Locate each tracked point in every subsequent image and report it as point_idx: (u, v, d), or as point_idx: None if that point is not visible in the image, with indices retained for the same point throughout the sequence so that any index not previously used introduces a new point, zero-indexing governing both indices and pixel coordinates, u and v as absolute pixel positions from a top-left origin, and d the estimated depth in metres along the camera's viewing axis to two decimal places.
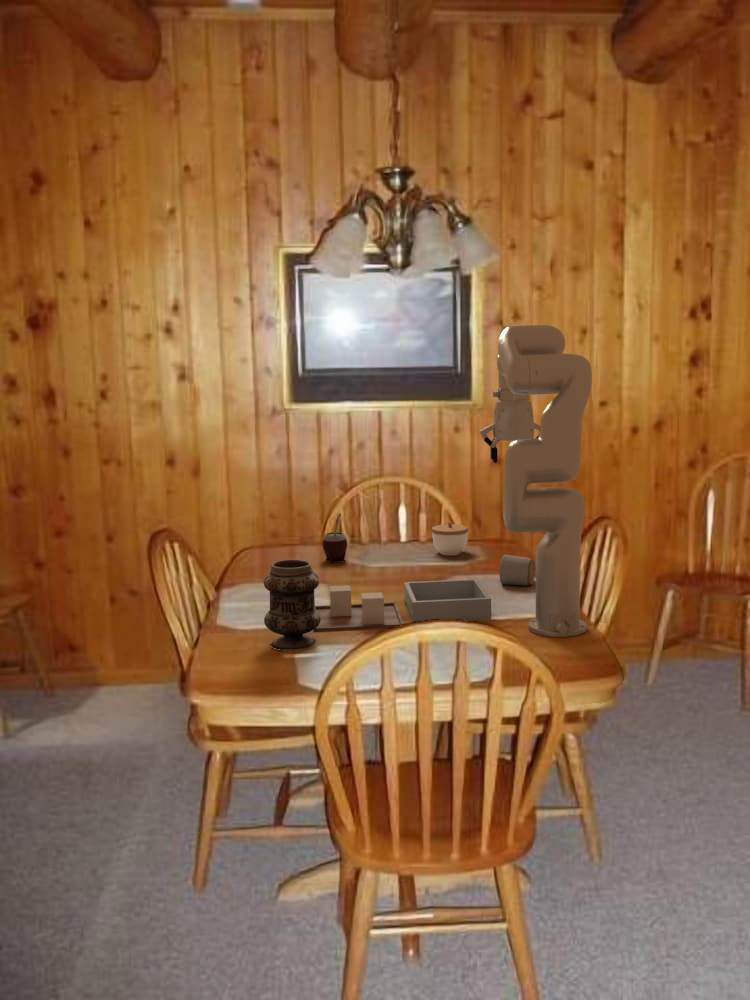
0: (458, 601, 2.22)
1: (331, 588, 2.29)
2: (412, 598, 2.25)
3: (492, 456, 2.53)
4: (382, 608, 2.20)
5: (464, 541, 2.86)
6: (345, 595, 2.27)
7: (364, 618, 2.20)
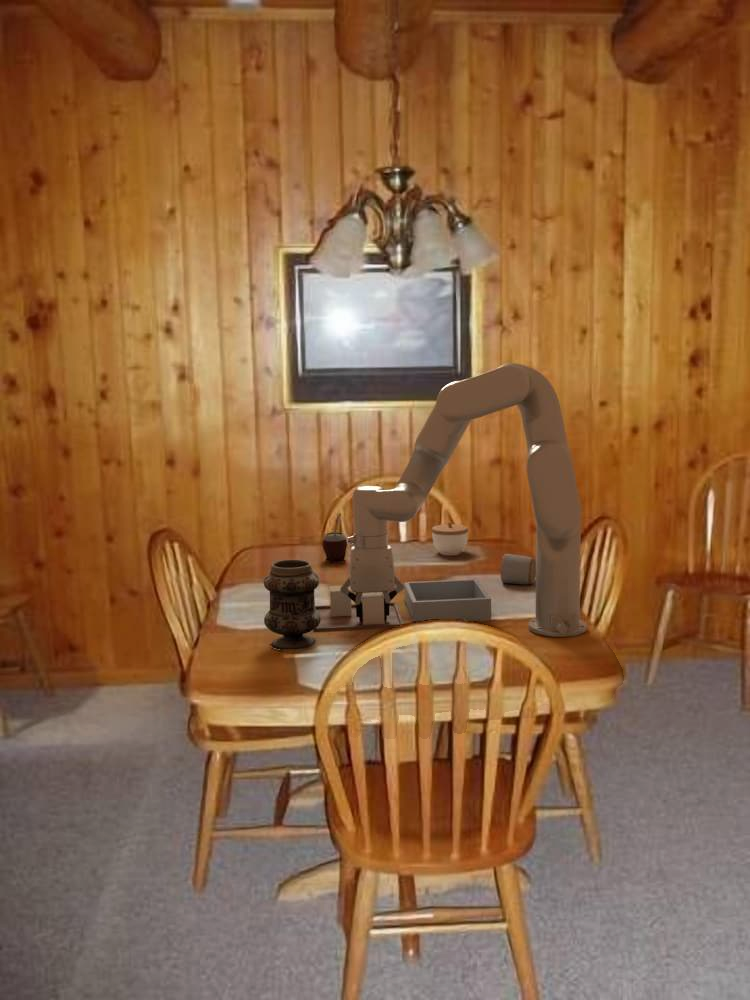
0: (458, 601, 2.22)
1: (331, 588, 2.29)
2: (412, 598, 2.25)
3: (357, 613, 2.22)
4: (382, 608, 2.20)
5: (464, 541, 2.86)
6: (345, 595, 2.27)
7: (364, 618, 2.20)
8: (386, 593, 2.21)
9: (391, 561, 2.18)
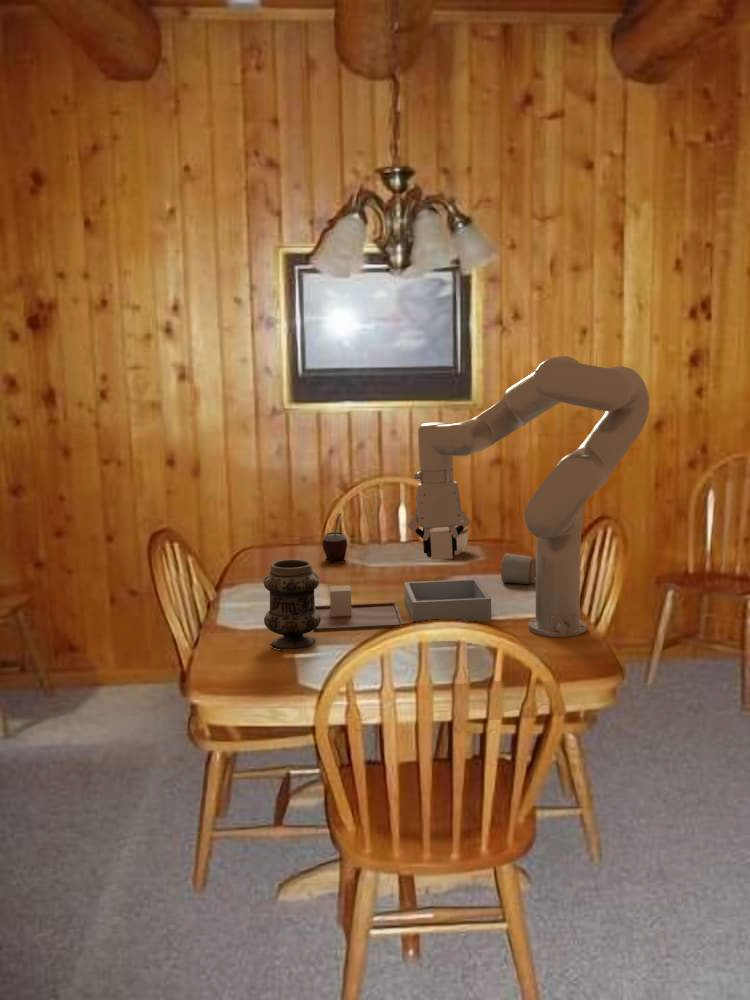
0: (458, 601, 2.22)
1: (331, 588, 2.29)
2: (412, 598, 2.25)
3: (425, 549, 2.24)
4: (450, 542, 2.22)
5: (464, 541, 2.86)
6: (345, 595, 2.27)
7: (433, 553, 2.22)
8: (453, 528, 2.23)
9: (458, 495, 2.21)
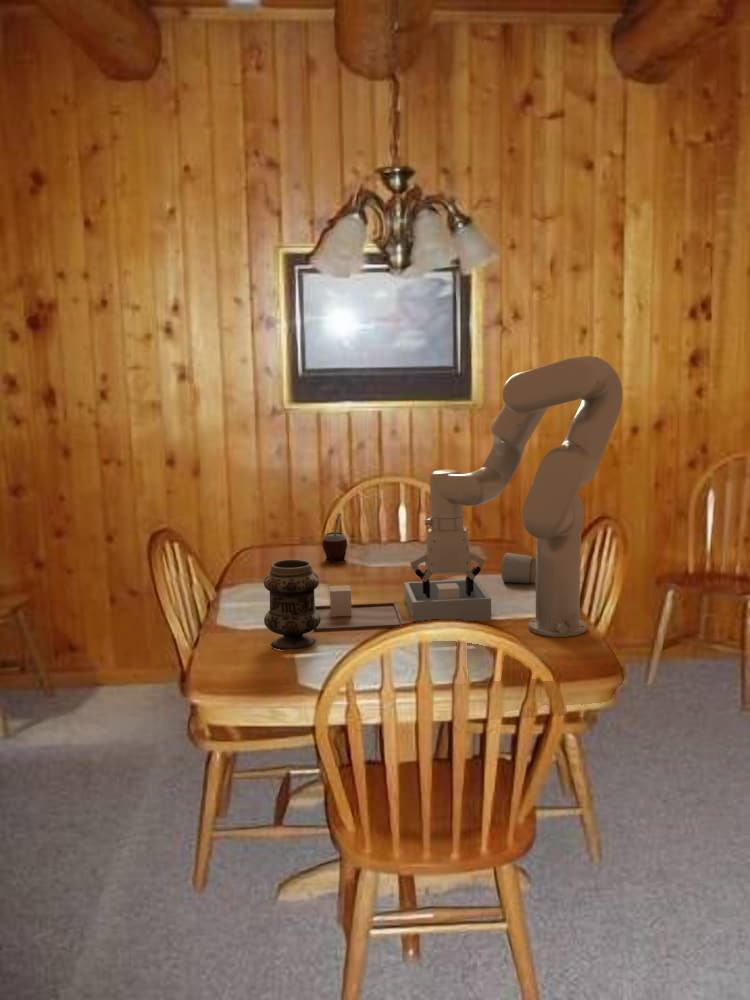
0: (458, 601, 2.22)
1: (331, 588, 2.29)
2: (412, 598, 2.25)
3: (424, 590, 2.27)
4: (457, 598, 2.26)
5: None
6: (345, 595, 2.27)
7: None
8: (468, 571, 2.26)
9: (467, 543, 2.24)
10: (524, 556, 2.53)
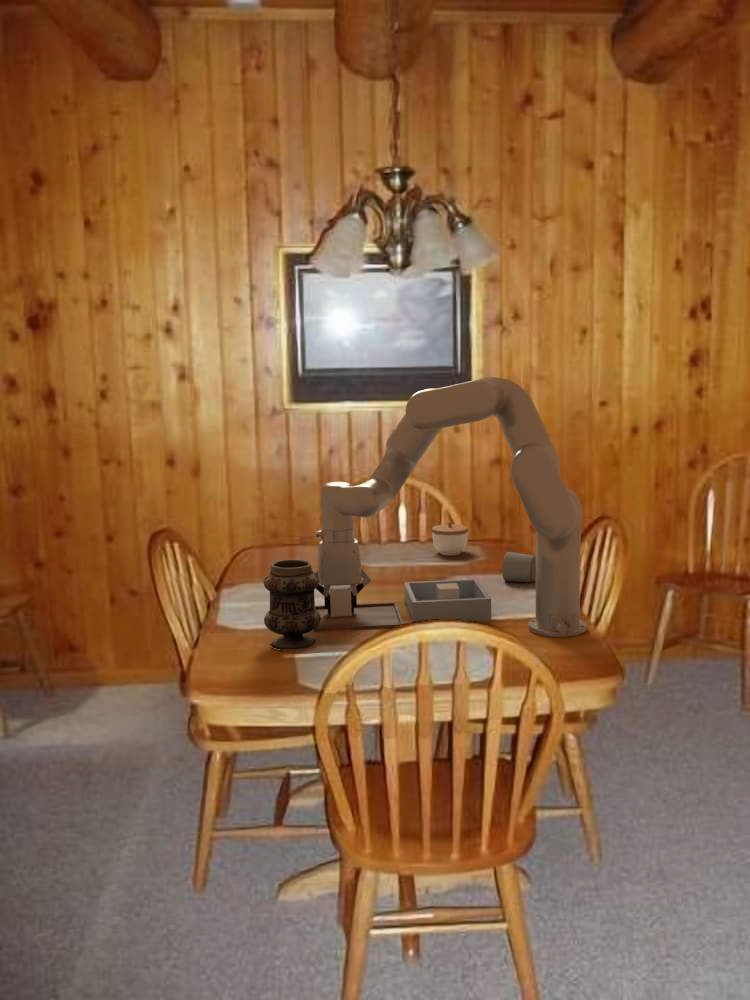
0: (458, 601, 2.22)
1: (331, 588, 2.29)
2: (412, 598, 2.25)
3: (325, 606, 2.28)
4: (457, 598, 2.26)
5: (464, 541, 2.86)
6: (345, 595, 2.27)
7: None
8: (353, 586, 2.28)
9: (358, 555, 2.25)
10: (525, 555, 2.54)
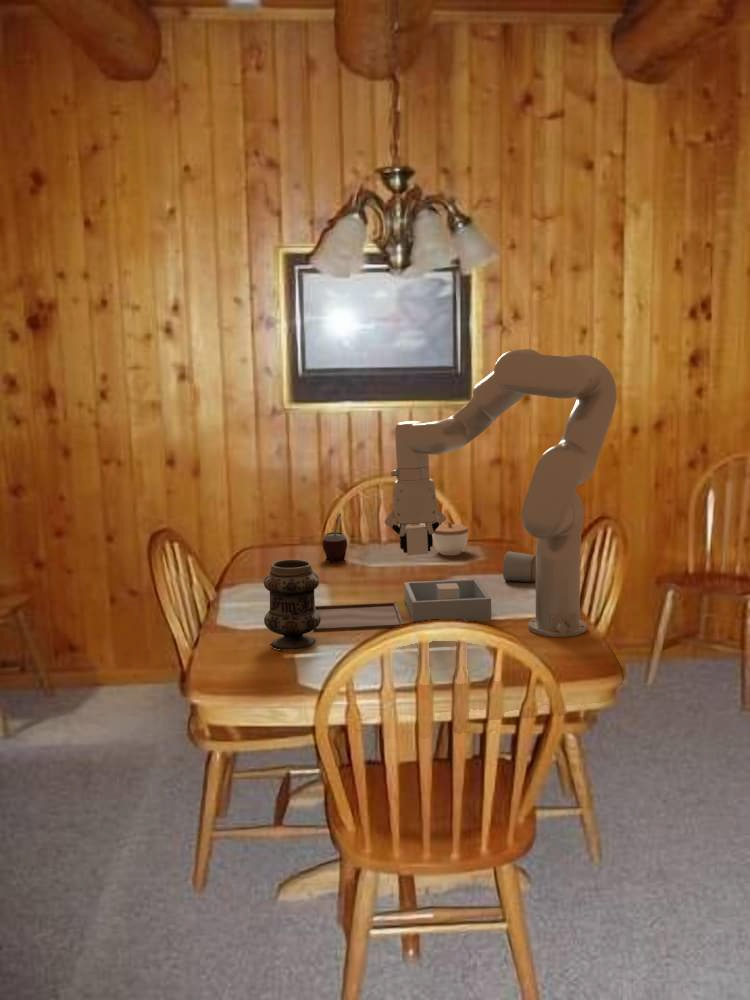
0: (458, 601, 2.22)
1: (406, 527, 2.30)
2: (412, 598, 2.25)
3: (401, 545, 2.29)
4: (457, 598, 2.26)
5: (464, 541, 2.86)
6: (421, 533, 2.28)
7: None
8: (429, 524, 2.28)
9: (434, 492, 2.26)
10: (525, 555, 2.55)
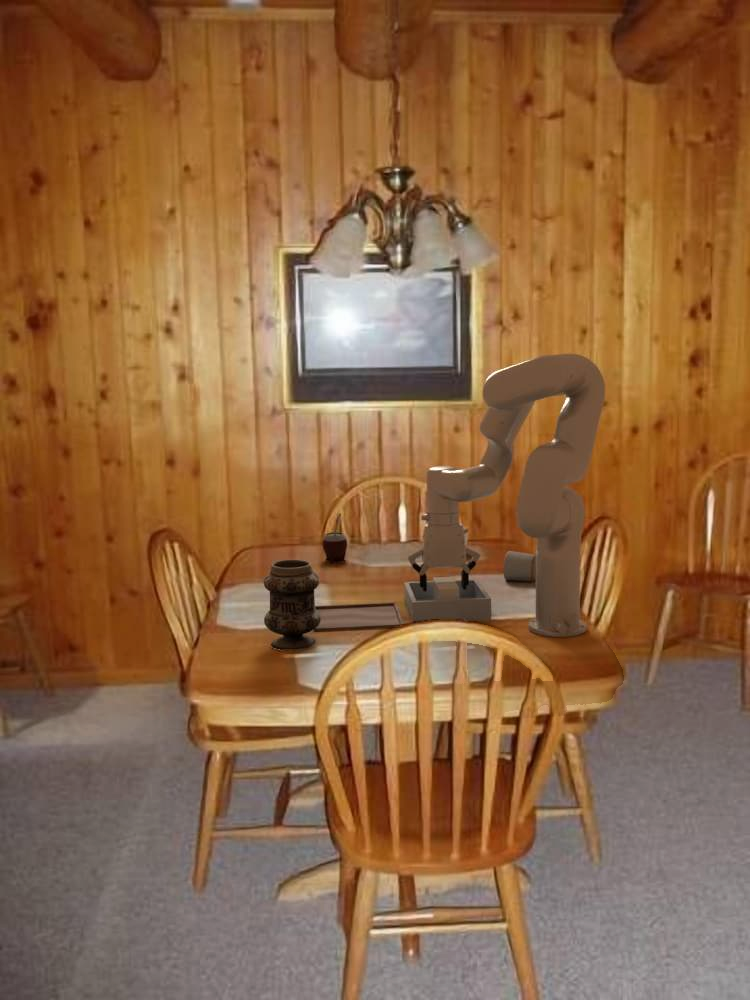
0: (458, 601, 2.22)
1: (435, 579, 2.33)
2: (412, 598, 2.25)
3: (421, 584, 2.32)
4: (457, 598, 2.26)
5: None
6: None
7: None
8: (463, 565, 2.32)
9: (463, 537, 2.30)
10: (526, 554, 2.55)
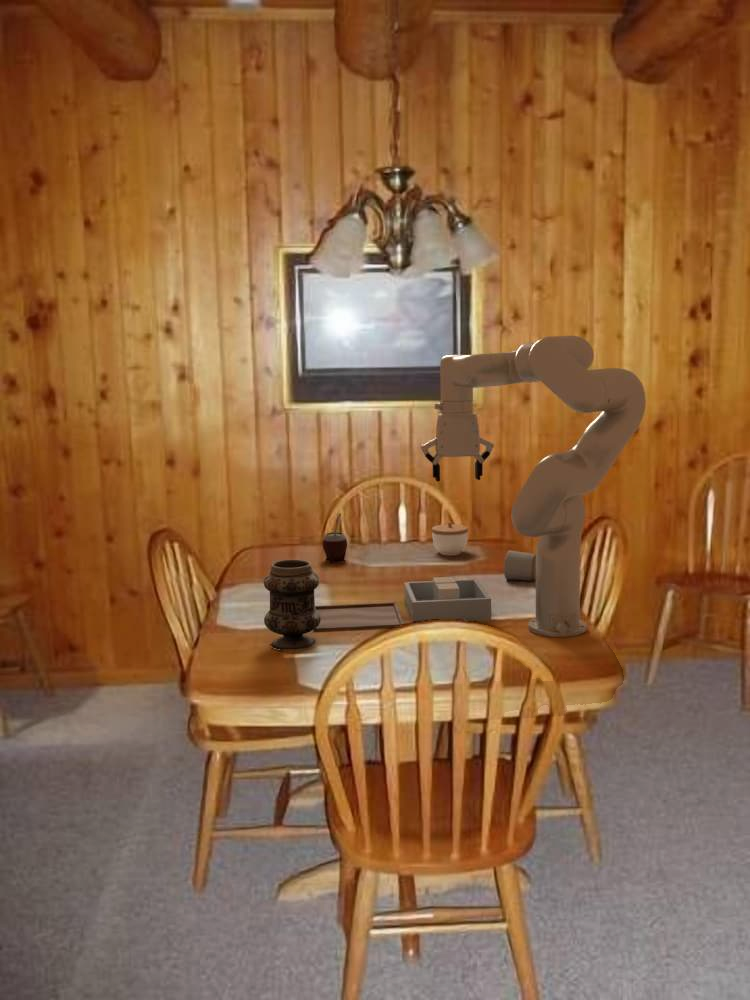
0: (458, 601, 2.22)
1: (435, 579, 2.33)
2: (412, 598, 2.25)
3: (434, 474, 2.31)
4: (457, 598, 2.26)
5: (464, 541, 2.86)
6: None
7: None
8: (477, 454, 2.31)
9: (477, 426, 2.28)
10: (526, 554, 2.56)
